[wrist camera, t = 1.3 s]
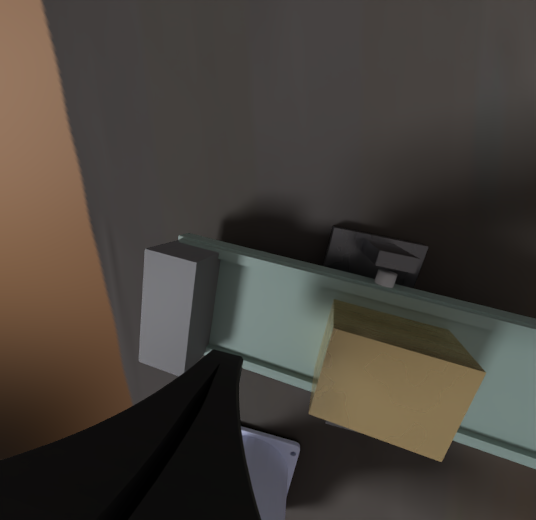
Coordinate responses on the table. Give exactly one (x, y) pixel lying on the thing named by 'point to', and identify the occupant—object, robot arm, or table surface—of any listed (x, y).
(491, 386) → the beam
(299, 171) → the table surface
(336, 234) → the pivot stand
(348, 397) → the block
